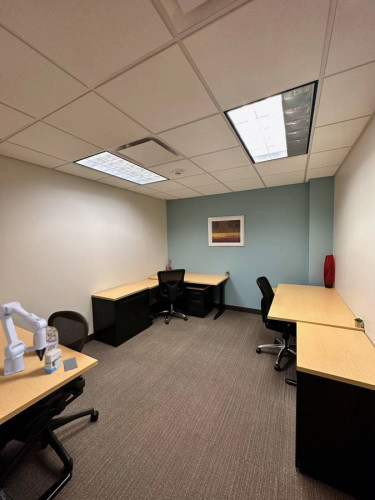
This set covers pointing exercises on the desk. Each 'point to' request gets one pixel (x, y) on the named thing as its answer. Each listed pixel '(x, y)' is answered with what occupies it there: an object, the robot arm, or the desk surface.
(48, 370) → the ink box
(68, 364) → the mat
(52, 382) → the desk surface
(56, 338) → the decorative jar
